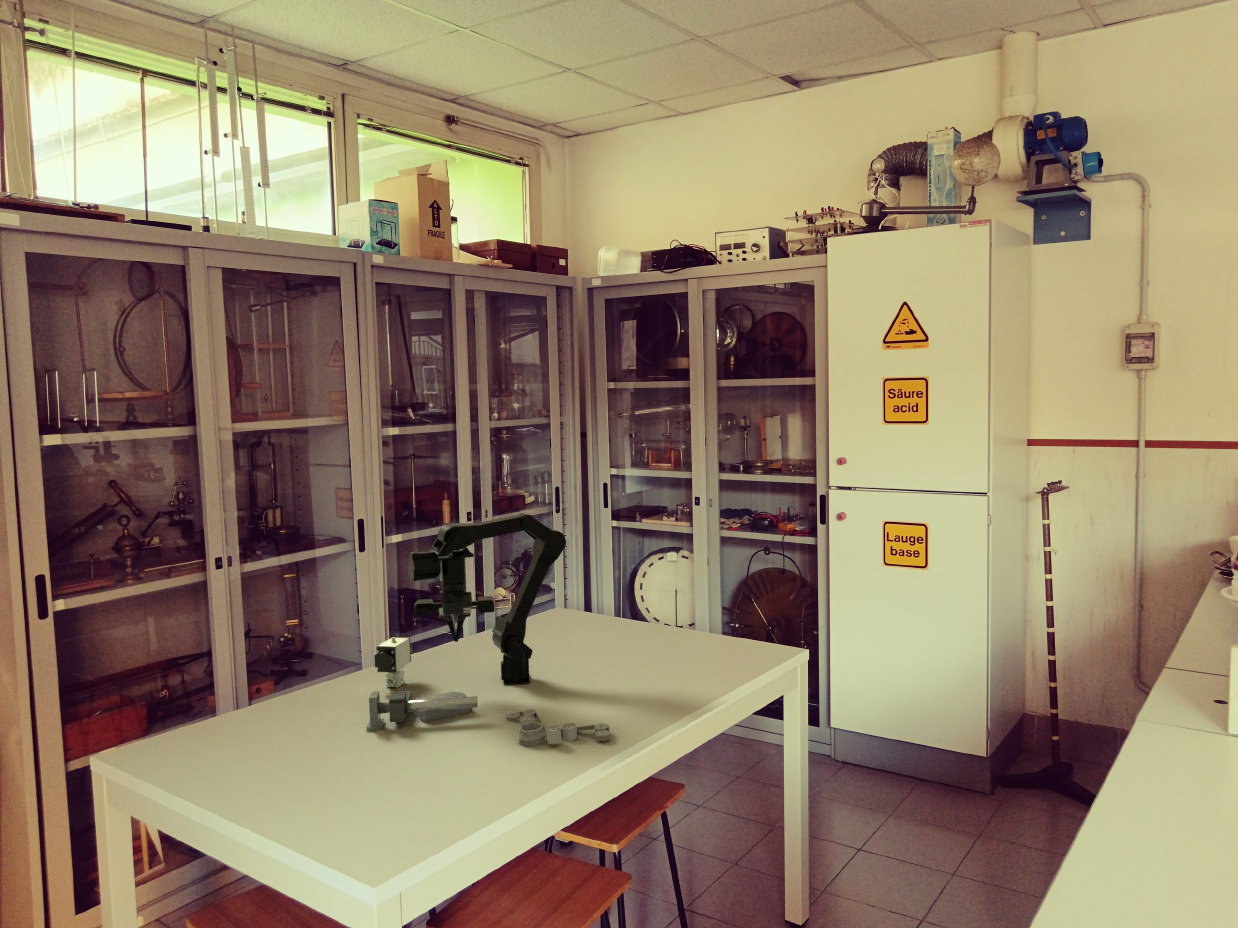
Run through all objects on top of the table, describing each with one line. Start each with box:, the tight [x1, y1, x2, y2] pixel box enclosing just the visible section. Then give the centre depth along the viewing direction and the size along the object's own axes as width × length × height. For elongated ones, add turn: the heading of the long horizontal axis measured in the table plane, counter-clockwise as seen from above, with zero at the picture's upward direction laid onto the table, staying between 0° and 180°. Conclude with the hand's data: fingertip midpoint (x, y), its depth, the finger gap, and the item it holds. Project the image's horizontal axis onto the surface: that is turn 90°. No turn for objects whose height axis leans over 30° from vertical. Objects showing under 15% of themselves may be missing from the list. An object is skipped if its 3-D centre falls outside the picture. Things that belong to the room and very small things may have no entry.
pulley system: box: [505, 708, 612, 748], centre depth 187 cm, size 27×5×15 cm
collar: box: [388, 690, 413, 723], centre depth 199 cm, size 3×14×5 cm, turn 7°
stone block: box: [413, 691, 473, 723], centre depth 202 cm, size 12×5×10 cm
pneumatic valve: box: [374, 636, 413, 689], centre depth 221 cm, size 6×12×12 cm, turn 168°
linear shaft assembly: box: [366, 691, 479, 732], centre depth 194 cm, size 23×5×7 cm, turn 97°
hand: (456, 641), depth 215 cm, fingers closed
